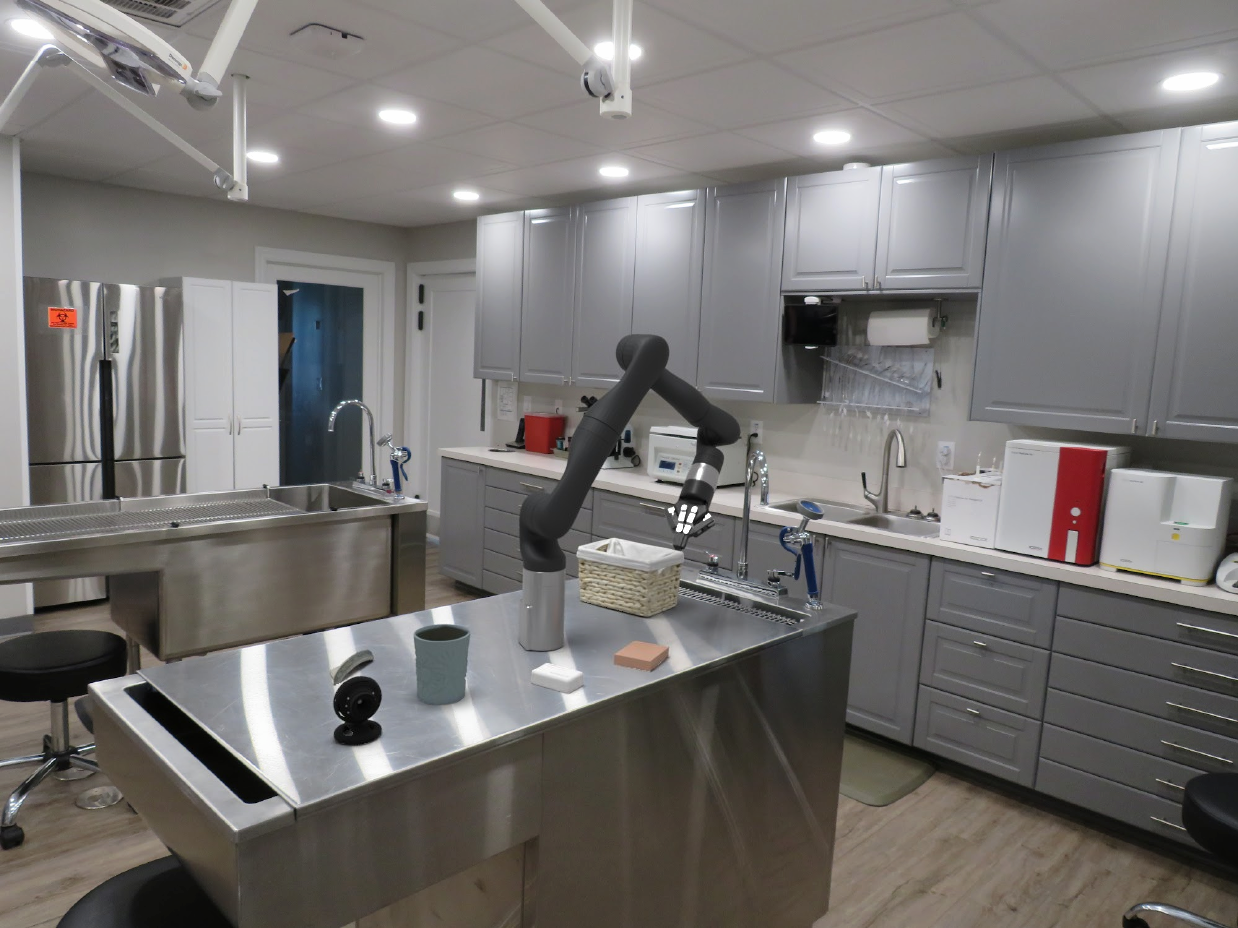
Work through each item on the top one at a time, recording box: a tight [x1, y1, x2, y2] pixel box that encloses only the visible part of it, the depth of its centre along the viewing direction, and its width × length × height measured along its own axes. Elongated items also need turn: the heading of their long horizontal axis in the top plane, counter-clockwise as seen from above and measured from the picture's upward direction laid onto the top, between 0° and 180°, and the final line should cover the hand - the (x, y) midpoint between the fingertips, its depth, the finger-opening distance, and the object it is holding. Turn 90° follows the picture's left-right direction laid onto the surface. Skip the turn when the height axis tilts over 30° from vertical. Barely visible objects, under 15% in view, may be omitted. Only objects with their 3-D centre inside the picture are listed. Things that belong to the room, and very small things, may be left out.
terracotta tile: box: [613, 640, 670, 672], centre depth 174 cm, size 3×8×10 cm
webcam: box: [332, 675, 383, 746], centre depth 135 cm, size 8×8×10 cm
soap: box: [530, 662, 584, 694], centre depth 159 cm, size 9×6×3 cm, turn 59°
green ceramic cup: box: [413, 623, 471, 706], centre depth 152 cm, size 10×10×12 cm
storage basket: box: [576, 537, 685, 617], centre depth 212 cm, size 24×16×15 cm
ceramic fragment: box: [330, 649, 375, 686], centre depth 162 cm, size 14×5×4 cm, turn 165°
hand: (677, 549), depth 188 cm, fingers closed
